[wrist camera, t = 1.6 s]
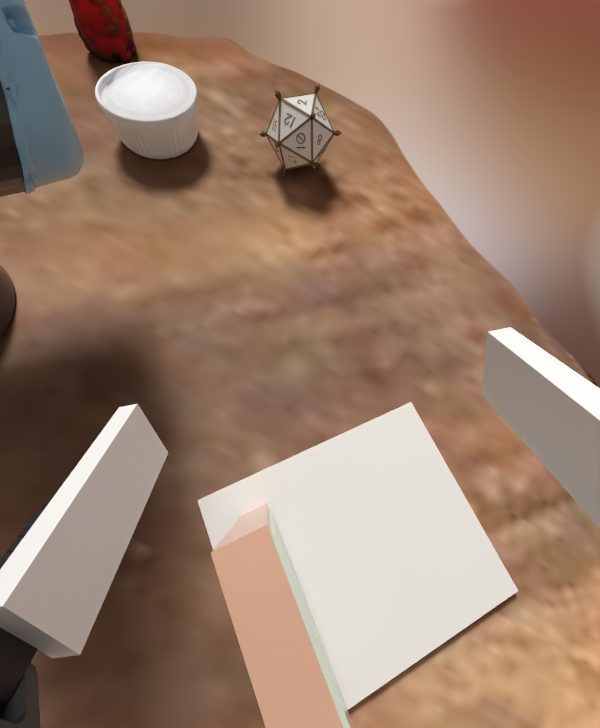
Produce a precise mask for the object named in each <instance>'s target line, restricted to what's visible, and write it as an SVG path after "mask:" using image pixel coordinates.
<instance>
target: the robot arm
mask: <svg viewBox="0 0 600 728" xmlns="http://www.w3.org/2000/svg"><path fill="white" fill-rule="evenodd" d="M82 165H83V150H82V146H81V144H80V141H79V139H78V136H77V133H76V131H75V128H74V126H73V123H72V121H71V118H70V116H69V113H68V111H67V108H66V106H65V103H64V101H63V98H62V96H61V93H60V91H59V88H58V86H57V83H56V80H55V78H54V75H53V73H52V70H51V68H50V65H49V63H48V60H47V58H46V55H45V53H44V50H43V48H42V45H41V43H40V40H39V38H38V35H37V33H36V30H35V28H34V25H33V23H32V20H31V17H30V15H29V12H28V10H27V7H26V5H25V2H24V0H0V197H2V196H6V195H11V194H15V193H20V192H25V193H31V192H32V191H34V190H35V188H36V187H39V186H43V185H47V184H50V183H54V182H58V181H61V180H65V179H68V178H71V177H73V176H74V175H76V174H77V173H78V172H79V170H80V168H81V166H82ZM14 306H15V291H14V286H13V283H12V281H11V279H10V277H9V275H8V273H7V272H6V271H5V270H4V268H3V267H2V266H0V338H1V336H2V335H3V333H4V332H5V330H6V328H7V327H8V325H9V322H10V320H11V318H12V315H13V311H14ZM482 395H483V396H484V397H485V398H486V399H487V401H488V402H489V403H490V404H491V405H492V406H493V407H494V409H495V410H496V411H497V412H498V413H499V414H500V415H501V417H502V418H503V419H504V420H505V421H506V422H507V423H508V424H509V426H510V427H511V428H512V429H513V430H514V431H515V432H516V434H517V435H518V436H519V437H520V438H521V439H522V440H523V442H524V443H525V444H526V445H527V446H528V447H529V448H530V450H531V451H532V452H533V453H534V454H535V455H536V456H537V458H538V459H539V460H540V461H541V462H542V463H543V464H544V465H545V467H546V468H547V469H548V470H549V471H550V472H551V473H552V475H553V476H554V477H555V478H556V479H557V480H558V481H559V483H560V484H561V485H562V486H563V487H564V488H565V489H566V491H567V492H568V493H569V494H570V495H571V496H572V497H573V498H574V500H575V501H576V502H577V503H578V504H579V505H580V506H581V508H582V509H583V510H584V511H585V512H586V513H587V514H588V516H589V517H590V518H591V519H592V520H593V521H594V522H595V524H596V525H597V526H598V527H599V528H600V388H598V387H597V386H595V385H594V384H592V383H591V382H589V381H588V380H586V379H585V378H584V377H582V376H581V375H579V374H578V373H576V372H575V371H573V370H572V369H570V368H569V367H568V366H566V365H565V364H563V363H562V362H560V361H559V360H557V359H556V358H554V357H553V356H552V355H550V354H549V353H547V352H546V351H544V350H543V349H541V348H540V347H539V346H537V345H536V344H534V343H533V342H531V341H530V340H528V339H527V338H525V337H524V336H523V335H521V334H520V333H518V332H517V331H515V330H514V329H512V328H511V327H509V328H504V329H499V330H494V331H489V332H488V333H487V344H486V354H485V364H484V375H483V385H482ZM167 455H168V451H167V450H166V448H165V447H164V445H163V443H162V442H161V440H160V439H159V437H158V435H157V434H156V432H155V431H154V429H153V427H152V426H151V424H150V423H149V421H148V419H147V418H146V416H145V415H144V413H143V412H142V410H141V408H140V407H139V405H138V404H133V405H128V406H123V407H119V408H118V410H117V411H116V412H115V414H114V415H113V416H112V418H111V419H110V420H109V422H108V423H107V425H106V426H105V427H104V429H103V430H102V431H101V433H100V434H99V435H98V437H97V438H96V440H95V441H94V442H93V444H92V445H91V446H90V448H89V449H88V450H87V452H86V453H85V455H84V456H83V457H82V459H81V460H80V461H79V463H78V464H77V465H76V467H75V468H74V470H73V471H72V472H71V474H70V475H69V476H68V478H67V479H66V480H65V482H64V483H63V485H62V486H61V487H60V489H59V490H58V491H57V493H56V494H55V495H54V497H53V498H52V500H51V501H49V502H48V503H47V504H46V505H45V506H44V507H43V508H41V509H40V510H39V511H38V512H37V513H36V514H35V515H34V516H33V517H32V518H31V519H30V520H29V522H28V523H27V524H26V526H25V527H24V528H23V530H22V531H21V532H20V534H19V535H18V539H17V540H14V542H13V543H12V544H11V546H10V547H9V548H8V550H7V551H6V552H7V553H6V555H3V556H2V558H1V559H0V728H40V715H39V698H38V681H37V671H36V669H35V666H34V665H33V664H31V663H30V662H31V660H32V658H33V656H34V655H35V653H36V651H37V650H39V651H40V652H42V653H44V654H46V655H47V656H49V657H51V658H60V657H68V656H75V655H80V654H81V652H82V650H83V648H84V645H85V643H86V641H87V638H88V636H89V634H90V631H91V629H92V627H93V625H94V622H95V620H96V618H97V615H98V613H99V611H100V609H101V606H102V604H103V602H104V599H105V597H106V595H107V592H108V590H109V588H110V586H111V583H112V581H113V579H114V576H115V574H116V572H117V570H118V567H119V565H120V563H121V560H122V558H123V556H124V553H125V551H126V549H127V547H128V544H129V542H130V540H131V537H132V535H133V533H134V531H135V528H136V526H137V524H138V521H139V519H140V517H141V515H142V512H143V510H144V508H145V505H146V503H147V501H148V498H149V496H150V494H151V492H152V489H153V487H154V485H155V482H156V480H157V478H158V476H159V473H160V471H161V469H162V466H163V464H164V462H165V459H166V457H167Z"/></svg>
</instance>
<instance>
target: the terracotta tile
mask: <svg viewBox="0 0 600 728" xmlns="http://www.w3.org/2000/svg"><path fill="white" fill-rule="evenodd" d="M211 556H212V559H213V562H214V565H215V568H216V571H217V575H218V578H219V581H220V584H221V587H222V590H223V594H224V597H225V600H226V603H227V606H228V610H229V613H230V616H231V619H232V622H233V625H234V629H235V632H236V635H237V638H238V641H239V644H240V648H241V651H242V654H243V657H244V660H245V663H246V667H247V670H248V673H249V676H250V679H251V682H252V686H253V689H254V692H255V695H256V698H257V702H258V705H259V708H260V711H261V714H262V717H263V721H264V724H265V727H266V728H354V726H353V724H352V721H351V718H350V715H349V713H348V710H347V707H346V704H345V701H344V699H343V696H342V693H341V690H340V688H339V685H338V682H337V679H336V676H335V674H334V671H333V668H332V665H331V663H330V660H329V658H328V655H327V652H326V650H325V647H324V645H323V642H322V639H321V637H320V634H319V631H318V629H317V626H316V624H315V621H314V618H313V616H312V613H311V611H310V608H309V605H308V603H307V600H306V598H305V595H304V592H303V590H302V587H301V585H300V582H299V579H298V577H297V574H296V572H295V569H294V566H293V564H292V561H291V559H290V556H289V553H288V551H287V548H286V546H285V543H284V540H283V538H282V535H281V532H280V530H279V527H278V525H277V522H276V519H275V517H274V514H273V512H272V509H271V507H270V508H268V505H267V503H265V504H263V505H261V506H259V507H257V508H255V509H253V510H251V511H249V512H247V513H245V514H243V515H241V516H240V517H239V519H238V520H237V521H236V522H235V524H234V525H233V526H232V527H231V528H230V530H229V531H228V532H227V533H226V535H225V536H224V537H223V538H222V540H221V541H220V542H219V543H218V545H217V546H216V547H215V548H214V550H213V551H212V552H211Z"/></svg>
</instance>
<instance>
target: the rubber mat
mask: <svg viewBox="0 0 600 728" xmlns="http://www.w3.org/2000/svg"><path fill="white" fill-rule="evenodd" d="M197 501H198V504H199V507H200V510H201V513H202V516H203V520H204V523H205V526H206V529H207V532H208V535H209V538H210V542H211V545H212V548H213V550H214V548H215V547H216V546H217V545H218V543H219V542H220V541H221V540H222V538H223V537H224V536H225V535H226V533H227V532H228V531H229V530H230V528H231V527H232V526H233V525H234V524H235V522H236V521H237V520H238V519H239V517H240V516H241V515H243V514H245V513H247V512H249V511H251V510H253V509H255V508H257V507H259V506H261V505H263V504H265V503H267V505H268V508H270V507H271V509H272V512H273V514H274V517H275V519H276V522H277V525H278V527H279V530H280V532H281V535H282V538H283V540H284V543H285V546H286V548H287V551H288V553H289V556H290V559H291V561H292V564H293V566H294V569H295V572H296V574H297V577H298V579H299V582H300V585H301V587H302V590H303V592H304V595H305V598H306V600H307V603H308V605H309V608H310V611H311V613H312V616H313V618H314V621H315V624H316V626H317V629H318V631H319V634H320V637H321V639H322V642H323V645H324V647H325V650H326V652H327V655H328V658H329V660H330V663H331V665H332V668H333V671H334V674H335V676H336V679H337V682H338V685H339V688H340V690H341V693H342V696H343V699H344V701H345V704H346V707H347V710H348V709H350V708H351V707H353V706H354V705H356V704H357V703H358V702H360V701H361V700H363V699H364V698H366V697H367V696H368V695H370V694H371V693H373V692H374V691H376V690H377V689H378V688H380V687H381V686H383V685H384V684H386V683H387V682H388V681H390V680H391V679H393V678H394V677H396V676H397V675H398V674H400V673H401V672H403V671H404V670H406V669H407V668H409V667H410V666H411V665H413V664H414V663H416V662H417V661H419V660H420V659H421V658H423V657H424V656H426V655H427V654H429V653H430V652H431V651H433V650H434V649H436V648H437V647H439V646H440V645H441V644H443V643H444V642H446V641H447V640H449V639H450V638H451V637H453V636H454V635H456V634H457V633H459V632H460V631H462V630H463V629H464V628H466V627H467V626H469V625H470V624H472V623H473V622H474V621H476V620H477V619H479V618H480V617H482V616H483V615H484V614H486V613H487V612H489V611H490V610H492V609H493V608H494V607H496V606H497V605H499V604H500V603H502V602H503V601H505V600H506V599H507V598H509V597H510V596H512V595H513V594H515V593H516V592H517V591H518V590H517V588H516V586H515V584H514V583H513V581H512V579H511V577H510V576H509V574H508V572H507V570H506V568H505V567H504V565H503V563H502V561H501V560H500V558H499V556H498V554H497V553H496V551H495V549H494V547H493V546H492V544H491V542H490V540H489V539H488V537H487V535H486V533H485V531H484V530H483V528H482V526H481V524H480V523H479V521H478V519H477V517H476V516H475V514H474V512H473V510H472V509H471V507H470V505H469V503H468V502H467V500H466V498H465V496H464V495H463V493H462V491H461V489H460V487H459V486H458V484H457V482H456V480H455V479H454V477H453V475H452V473H451V472H450V470H449V468H448V466H447V465H446V463H445V461H444V459H443V458H442V456H441V454H440V452H439V450H438V449H437V447H436V445H435V443H434V442H433V440H432V438H431V436H430V435H429V433H428V431H427V429H426V428H425V426H424V424H423V422H422V421H421V419H420V417H419V415H418V414H417V412H416V410H415V408H414V406H413V405H412V403H411V402H410V403H408V404H406V405H403V406H401V407H399V408H397V409H395V410H392V411H390V412H388V413H386V414H384V415H382V416H379V417H377V418H375V419H373V420H371V421H369V422H366V423H364V424H362V425H360V426H358V427H356V428H353V429H351V430H349V431H347V432H345V433H343V434H340V435H338V436H336V437H334V438H332V439H330V440H327V441H325V442H323V443H321V444H319V445H317V446H314V447H312V448H310V449H308V450H306V451H303V452H301V453H299V454H297V455H295V456H293V457H290V458H288V459H286V460H284V461H282V462H280V463H277V464H275V465H273V466H271V467H269V468H267V469H264V470H262V471H260V472H258V473H256V474H254V475H251V476H249V477H247V478H245V479H243V480H241V481H238V482H236V483H234V484H232V485H230V486H228V487H225V488H223V489H221V490H219V491H217V492H214V493H212V494H210V495H208V496H206V497H204V498H201V499H199V500H197Z"/></svg>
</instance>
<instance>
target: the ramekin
mask: <svg viewBox="0 0 600 728" xmlns="http://www.w3.org/2000/svg"><path fill="white" fill-rule="evenodd" d="M95 97H96V99H97V102H98V104H99V106H100V108H101V110H102V111H103V112H104V114H105V115H106V116H107V117H108V119H109V121H110V122H111V124H112V126H113V128H114V129H115V131H116V133H117V134H118V136H119V138H120V139H121V141H122V142H123V143H124V144H125V145H126V146H127V147H128V148H129V149H131V150H132V151H133V152H135V153H137V154H138V155H141V156H143V157H147V158H151V159H169V158H173V157H177V156H179V155H181V154H183V153H185V152H187V151H188V150H189V149H190V148H191V147H192V145H193V144H194V142H195V141H196V138H197V134H198V115H197V105H198V94H197V90H196V86H195V84H194V82H193V81H192V80H191V78H190V77H189V76H188V75H186V74H185V73H184V72H182V71H181V70H179V69H177V68H175V67H172V66H170V65H167V64H163V63H157V62H134V63H129V64H124V65H121V66H118V67H116V68H113V69H112V70H110V71H108V72H107V73H105V74H104V75H103V76H102V77H101V78H100V79H99V81H98V82H97V84H96V88H95Z"/></svg>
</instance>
